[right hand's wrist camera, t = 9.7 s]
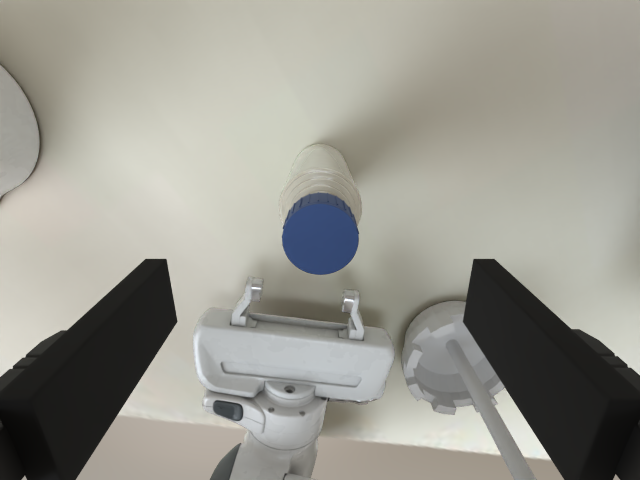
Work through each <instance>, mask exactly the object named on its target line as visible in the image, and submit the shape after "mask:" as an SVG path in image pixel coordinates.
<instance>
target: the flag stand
mask: <svg viewBox="0 0 640 480" xmlns="http://www.w3.org/2000/svg"><path fill="white" fill-rule="evenodd" d="M465 305H466V302H464V301H447V302H442V303H438V304H436V305H433V306H430V307H429V308H427V309H425V310H424V311H422V312H421V313H420V314H419V315H417V316H416V317H415V319H414V320H413V321H412V322H411V323H410V325H409V327H408V329H407V332H406V335H405V343H404V347H403V351H402V359H401V364H402V368H403V373H404V376H405V379H406V382H407V386H408V388H409V390H410V392H411V394H412V395H413V396H414V397H415V399H416V400H417V401H418V400H420V399H421V398H422V399H424V400H426V401H428V402H430V403H431V405H432V407H433V410H434V411H436V412H439V413H443V414H451V415H455V411H456V407H462V406H468V405H473V406H474V408H475V410H476V412H480V414H481V416H482V418H483V420H484V422H485V424H486V426H487V428H488V430H489V432H490V434H491V436H492V438H493V440H494V441H495V443H496V445H497V447H498V449H499V451H500V453H501V455H502V457H503V459H504V461H505V463H506V465H507V467H508V469H509V471H510V473H511V475H512V477H513V479H514V480H536V478H535V476H534V474H533V473H532V471H531V469H530V467H529V466H528V464H527V462H526V460H525V459H524V457H523V455H522V453H521V451H520V450H519V448H518V446H517V444H516V443H515V441H514V439H513V437H512V436H511V434H510V432H509V430H508V429H507V427H506V425H505V423H504V422H503V420H502V418H501V416H500V415H499V413H498V411H497V409H496V408H495V405H497V404H498V403H497V402H496V400H495V398H494V395H495V394H497V393H498V392H500V391H501V390H502V389H503V388H504V385H503V384H502V382H501V380H500V379H499V377H498V376H497V374H496V373H495V371H494V370H493V368H492V366H491V365H490V363H489V362H488V360H487V359H486V357H485V356H484V354H483V353H482V351H481V349H480V348H479V346H478V345H477V343H476V342H475V340H474V339H473V337H472V335H471V334H470V332H469V331H468V329H467V328H466V326H465V325H464V323H463V317H464V311H465Z"/></svg>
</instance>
